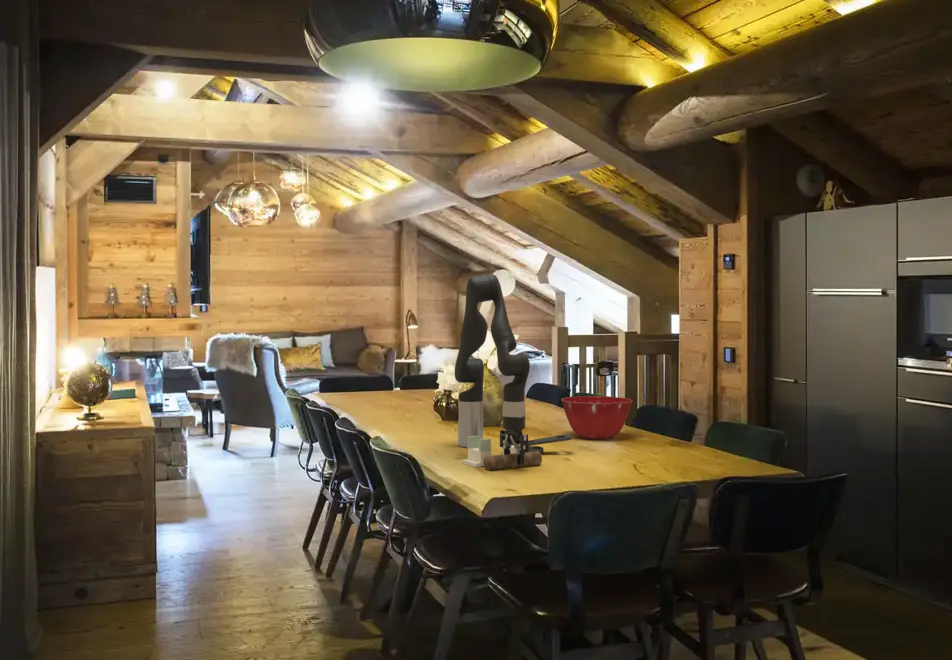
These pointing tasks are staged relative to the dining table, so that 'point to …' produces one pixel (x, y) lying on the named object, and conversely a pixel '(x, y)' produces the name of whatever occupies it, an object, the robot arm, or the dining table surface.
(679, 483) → the dining table surface
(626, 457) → the dining table surface
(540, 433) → the dining table surface
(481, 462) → the white cradle stand
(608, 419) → the mixing bowl
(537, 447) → the zipper pull
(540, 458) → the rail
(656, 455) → the dining table surface
